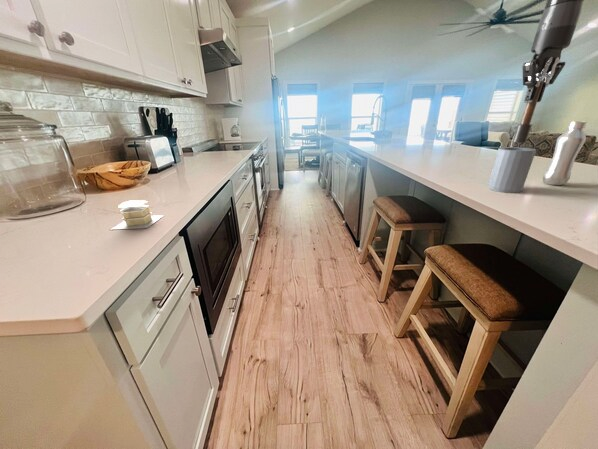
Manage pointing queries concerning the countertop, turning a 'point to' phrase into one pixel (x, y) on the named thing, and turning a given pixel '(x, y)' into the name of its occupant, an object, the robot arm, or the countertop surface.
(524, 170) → the cup
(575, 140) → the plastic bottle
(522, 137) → the brush
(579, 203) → the countertop surface
